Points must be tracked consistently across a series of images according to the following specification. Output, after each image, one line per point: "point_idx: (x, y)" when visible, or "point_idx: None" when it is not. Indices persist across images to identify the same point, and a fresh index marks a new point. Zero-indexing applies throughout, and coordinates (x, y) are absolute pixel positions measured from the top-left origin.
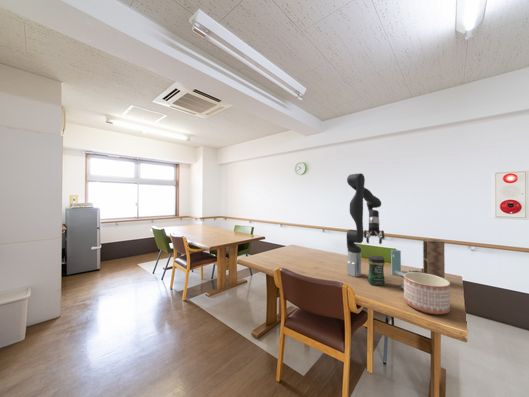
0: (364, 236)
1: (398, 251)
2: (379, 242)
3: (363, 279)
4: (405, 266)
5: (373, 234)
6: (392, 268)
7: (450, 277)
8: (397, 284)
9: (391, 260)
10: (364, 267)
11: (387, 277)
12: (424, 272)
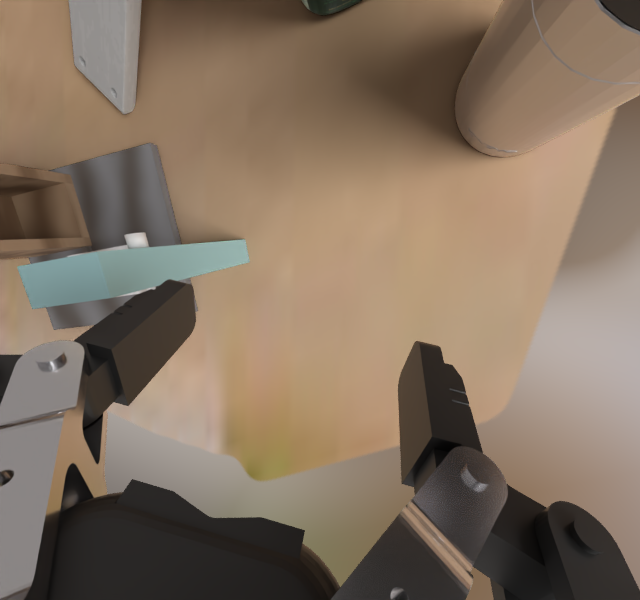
0: (598, 538)
1: (43, 262)
2: (170, 291)
3: (440, 5)
4: (178, 437)
5: (193, 566)
6: (221, 242)
7: (8, 325)
8: (216, 42)
9: (192, 262)
10: (419, 328)
11: (271, 163)
12: (54, 238)
